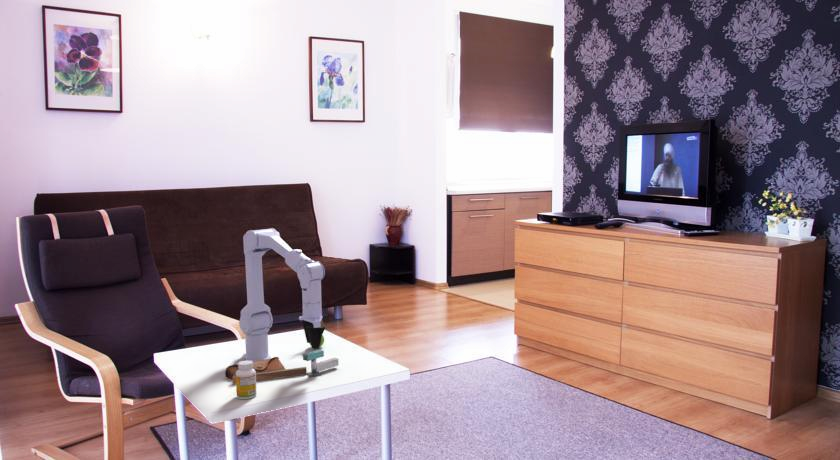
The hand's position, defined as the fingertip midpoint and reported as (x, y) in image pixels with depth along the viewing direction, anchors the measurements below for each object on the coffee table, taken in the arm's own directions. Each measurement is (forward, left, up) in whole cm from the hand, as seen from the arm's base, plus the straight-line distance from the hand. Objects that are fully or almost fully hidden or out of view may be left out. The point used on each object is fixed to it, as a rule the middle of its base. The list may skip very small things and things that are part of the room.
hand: (313, 345), depth 205 cm
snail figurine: (-30, +8, -9) cm, 32 cm away
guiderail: (-2, -13, -9) cm, 16 cm away
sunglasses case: (-8, -16, -10) cm, 20 cm away
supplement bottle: (+11, -22, -9) cm, 26 cm away
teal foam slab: (-1, +3, -9) cm, 9 cm away
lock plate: (0, 0, -9) cm, 9 cm away
